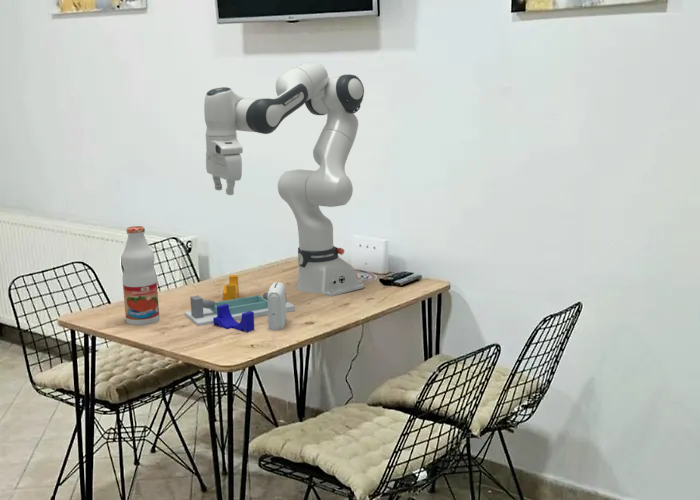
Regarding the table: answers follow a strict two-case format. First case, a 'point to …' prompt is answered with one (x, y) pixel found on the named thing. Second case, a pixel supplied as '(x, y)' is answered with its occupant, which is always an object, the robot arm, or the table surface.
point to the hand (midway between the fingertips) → (224, 192)
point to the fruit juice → (139, 279)
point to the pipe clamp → (231, 288)
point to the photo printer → (276, 306)
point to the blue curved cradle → (227, 321)
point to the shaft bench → (235, 306)
